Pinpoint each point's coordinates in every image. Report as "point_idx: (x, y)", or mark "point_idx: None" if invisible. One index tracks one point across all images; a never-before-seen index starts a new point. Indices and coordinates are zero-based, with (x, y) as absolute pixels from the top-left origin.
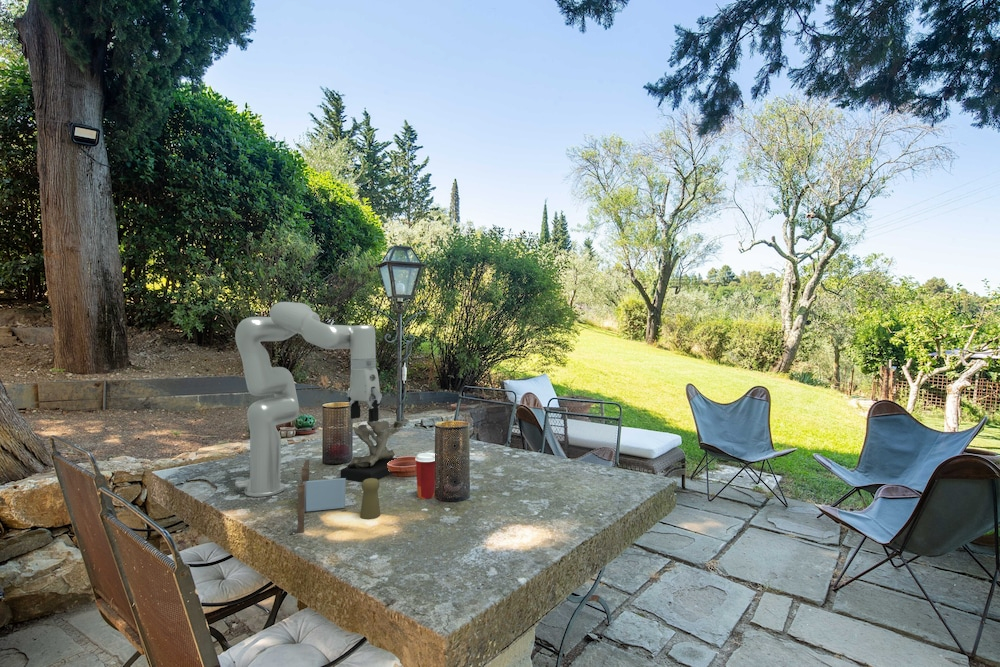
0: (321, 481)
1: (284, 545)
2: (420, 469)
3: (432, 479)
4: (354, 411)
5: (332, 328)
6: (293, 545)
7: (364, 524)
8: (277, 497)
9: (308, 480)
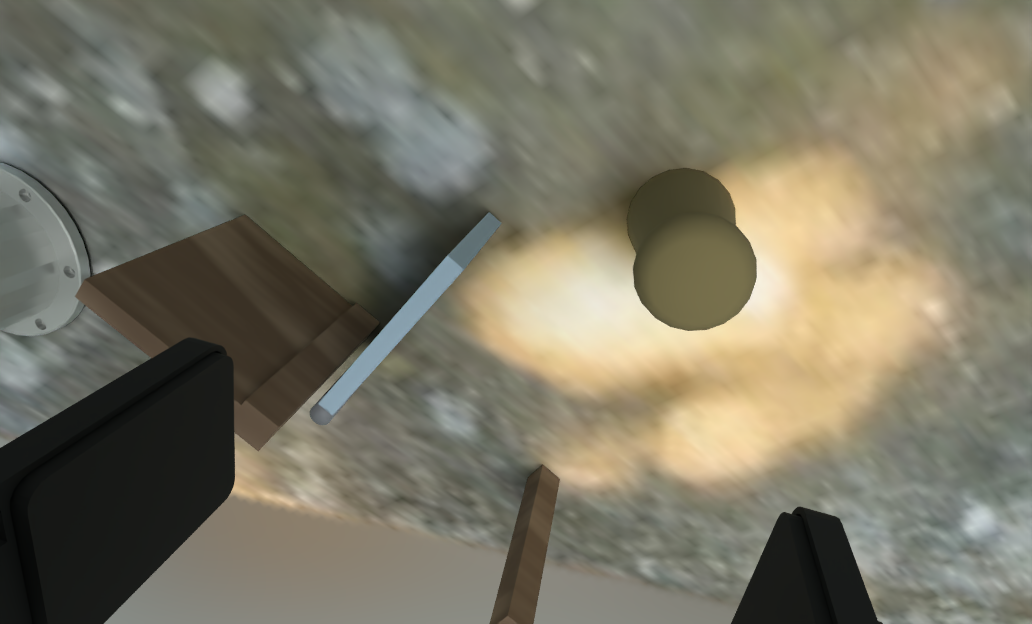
0: (379, 363)
1: (591, 570)
2: None
3: None
4: (144, 536)
5: None
6: (619, 560)
7: None
8: None
9: (314, 390)
